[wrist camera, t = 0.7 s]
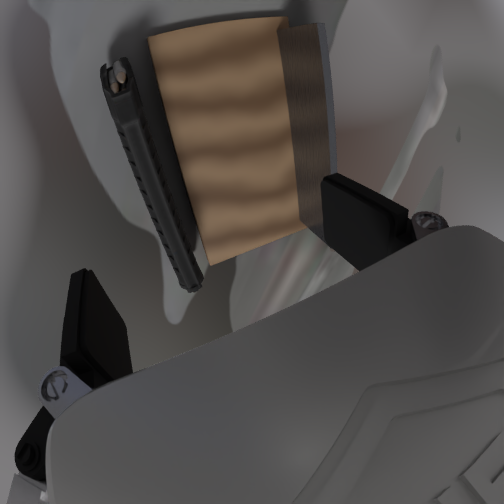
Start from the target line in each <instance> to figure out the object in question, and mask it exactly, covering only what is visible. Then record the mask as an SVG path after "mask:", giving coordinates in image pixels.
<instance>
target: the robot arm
mask: <svg viewBox="0 0 504 504" xmlns="http://www.w3.org/2000/svg"><path fill="white" fill-rule="evenodd" d="M320 187H321V199H322V213H323V229H324V239H325V241H326V243H327V244H328V245H329V246H330V247H331V248H332V249H334V250H335V251H336V252H337V253H338V254H340V255H341V256H342V257H343V258H344V259H346V260H347V261H348V262H349V263H350V264H352V265H353V266H354V267H355V268H356V269H357V270H359V272H358V273H356V274H354V275H352V276H350V277H348V278H346V279H344V280H342V281H340V282H338V283H336V284H334V285H332V286H330V287H328V288H327V289H325V290H323V291H321V292H319V293H316V294H314V295H312V296H310V297H308V298H306V299H304V300H302V301H300V302H298V303H296V304H294V305H292V306H290V307H288V308H285V309H283V310H281V311H279V312H277V313H275V314H273V315H270V316H268V317H266V318H264V319H262V320H259V321H257V322H255V323H253V324H251V325H248V326H246V327H244V328H242V329H239V330H237V331H235V332H232V333H230V334H228V335H226V336H223V337H221V338H218V339H216V340H214V341H211V342H209V343H207V344H204V345H202V346H200V347H197V348H195V349H192V350H190V351H187V352H185V353H182V354H180V355H177V356H175V357H172V358H170V359H167V360H165V361H162V362H160V363H157V364H155V365H152V366H149V367H147V368H144V369H142V370H139V371H137V372H134V373H133V370H132V364H131V357H130V351H129V344H128V336H127V328H126V325H125V323H124V321H123V319H122V318H121V316H120V314H119V313H118V311H117V310H116V308H115V307H114V305H113V304H112V302H111V301H110V299H109V297H108V296H107V294H106V293H105V291H104V289H103V288H102V286H101V285H100V283H99V281H98V279H97V277H96V276H95V274H94V272H93V271H92V270H89V271H88V270H86V269H85V268H84V269H82V270H79V271H77V272H75V273H73V274H71V279H70V285H69V290H68V297H67V304H66V311H65V317H64V323H63V332H62V342H61V354H60V366H58V367H54V368H52V369H51V370H49V371H48V372H47V373H46V374H45V375H44V376H43V377H42V379H41V381H40V383H39V386H38V398H39V400H40V401H41V403H42V404H43V407H42V408H41V409H40V411H39V412H38V414H37V416H36V417H35V418H34V420H33V421H32V423H31V424H30V426H29V427H28V429H27V430H26V432H25V433H24V435H23V437H22V438H21V440H20V441H19V443H18V445H17V447H16V451H15V463H16V466H17V468H18V470H19V475H17V474H14V478H13V481H12V485H11V489H10V493H9V497H8V501H7V504H504V242H503V241H501V240H500V239H498V238H497V237H495V236H493V235H492V234H490V233H488V232H486V231H484V230H482V229H480V228H478V227H475V226H469V225H468V226H467V225H465V226H464V225H462V226H453V227H449V226H448V223H447V221H446V220H445V219H444V218H443V217H442V216H440V215H438V214H436V213H433V212H428V211H421V212H417V213H415V214H414V215H413V216H412V219H409V218H408V211H409V210H408V209H406V208H404V207H403V206H401V205H399V204H397V203H395V202H394V201H392V200H390V199H388V198H386V197H385V196H383V195H381V194H379V193H377V192H375V191H373V190H371V189H369V188H367V187H365V186H363V185H361V184H359V183H357V182H355V181H353V180H351V179H349V178H347V177H345V176H343V175H341V174H339V173H334V174H331V175H328V176H325V177H324V178H323V181H321V183H320Z"/></svg>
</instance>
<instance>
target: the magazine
mask: <svg viewBox="0 0 504 504" xmlns="http://www.w3.org/2000/svg"><path fill="white" fill-rule="evenodd" d="M120 59H121V61H120V60H118V61H116V62H114V64H113V66H112V67H110V68H108V69H107V68H106V64H104V65H103V66H102V67H101V68H100V78H101V82H102V88H103V92H104V95H105V98H106V101H107V104H108V106H109V109H110V112H111V115H112V118H113V119H114V122H115V125H116V128H117V132H118V134H119V136H120V139H121V142H122V144H123V148H124V150H125V152H126V155H127V158H128V161H129V163H130V165H131V168H132V171H133V173H134V177H135V178H136V181H137V183H138V186H139V188H140V192H141V193H142V196H143V198H144V201H145V203H146V206H147V208H148V211H149V213H150V215H151V219H152V220H153V223H154V225H155V227H156V230H157V232H158V234H159V237H160V239H161V241H162V244H163V246H164V248H165V250H166V253H167V256H168V257H169V260H170V262H171V264H172V266H173V269H174V271H175V273H176V275H177V277H178V280H179V283H180V286H181V288H183V289H186V290H187V291H188V293H191V292H196V291H198V289H200V288H201V287H202V285H201V283H202V281H203V279H204V277H203V274H202V272H201V270H200V268H199V266H198V264H197V262H196V258H195V257H194V254H193V252H192V249H191V246H190V244H189V241H188V239H187V236H186V233H185V231H184V228H183V226H182V223H181V220H180V218H179V215H178V212H177V210H176V207H175V204H174V201H173V198H172V195H171V193H170V190H169V187H168V184H167V182H166V178H165V176H164V173H163V170H162V166H161V164H160V161H159V158H158V155H157V151H156V149H155V146H154V143H153V140H152V135H151V133H150V130H149V127H148V124H147V119H146V117H145V114H144V111H143V107H142V106H143V105H142V102H141V99H140V95H139V92H138V88H137V85H136V81H135V77H134V74H133V72H132V69H131V65H130V63H129V61H128V58H126V57H123V58H120Z"/></svg>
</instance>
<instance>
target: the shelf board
mask: <svg viewBox="0 0 504 504" xmlns="http://www.w3.org/2000/svg"><path fill="white" fill-rule="evenodd" d="M285 28H289V22H288V16H286V17H264V18H251V19H241V20H232V21H224V22H217V23H211V24H205V25H199V26H194V27H188V28H184V29H179V30H174V31H170V32H166V33H162V34H158V35H154V36H150V37H148V38H147V41H148V46H149V50H150V55H151V59H152V63H153V68H154V72H155V76H156V80H157V84H158V88H159V92H160V96H161V100H162V104H163V108H164V112H165V116H166V120H167V124H168V127H169V131H170V135H171V138H172V142H173V146H174V149H175V153H176V157H177V160H178V164H179V167H180V171H181V174H182V178H183V181H184V185H185V188H186V191H187V195H188V198H189V202H190V205H191V208H192V212H193V215H194V218H195V221H196V225H197V228H198V231H199V234H200V237H201V241H202V244H203V247H204V250H205V253H206V256H207V259H208V262H209V264H210V266H212V265H214V264H217V263H219V262H222V261H224V260H227V259H229V258H232V257H234V256H237V255H239V254H242V253H244V252H247V251H249V250H252V249H254V248H257V247H259V246H262V245H264V244H267V243H270V242H272V241H275V240H277V239H280V238H282V237H285V236H287V235H290V234H292V233H295V232H297V231H300V230H302V229H305V228H307V226H305V225H304V224H303V223H302V222H301V221H300V219H299V207H298V195H297V184H296V174H295V164H294V155H293V145H292V137H291V128H290V120H289V112H288V104H287V96H286V89H285V82H284V75H283V68H282V61H281V55H280V49H279V42H278V36H277V30H280V29H285Z"/></svg>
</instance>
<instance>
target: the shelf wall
mask: <svg viewBox="0 0 504 504" xmlns="http://www.w3.org/2000/svg"><path fill="white" fill-rule="evenodd" d="M277 36H278V42H279V49H280V55H281V61H282V68H283V75H284V82H285V89H286V96H287V104H288V112H289V120H290V128H291V137H292V145H293V155H294V164H295V174H296V184H297V195H298V207H299V219H300V221H301V222H302V223H303V224H304V225H305V226H307V227H308V228H309V229H310V230H311V231H312V232H313V233H315V234H316V235H317V236H318V237H319V238H320V239H321V240H322V241H324V242H325V243H326V241H325V239H324V229H323V213H322V199H321V187H320V183H321V181H323V178H324V177H325V176H328V175H331V174H334V173H337V154H336V133H335V117H334V103H333V91H332V80H331V70H330V62H329V53H328V45H327V38H326V30H325V24H324V23H313V24H307V25H301V26H295V27H290V28H285V29H280V30H277ZM326 244H327V243H326ZM327 245H328V244H327ZM328 246H329V245H328ZM329 247H330V246H329ZM330 248H331V247H330Z"/></svg>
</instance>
